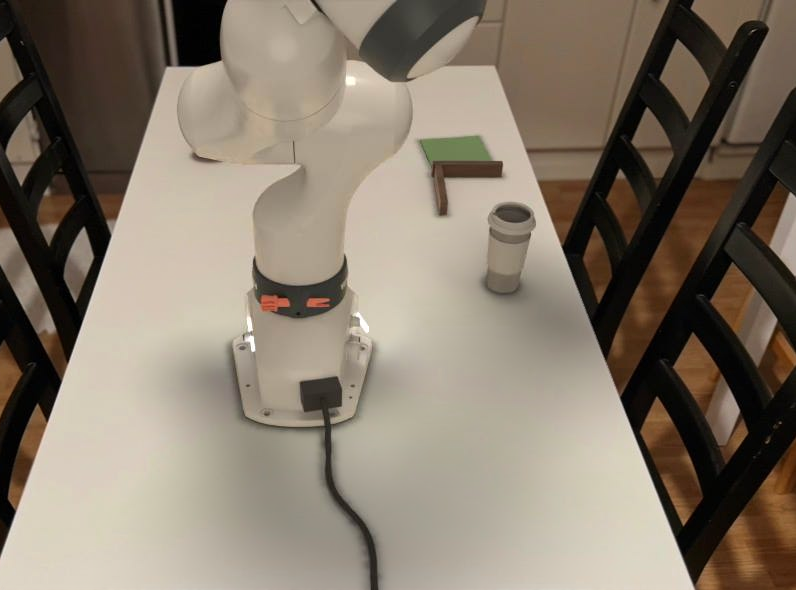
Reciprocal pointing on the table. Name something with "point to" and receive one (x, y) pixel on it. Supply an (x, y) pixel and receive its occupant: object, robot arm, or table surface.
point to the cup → (508, 244)
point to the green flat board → (455, 149)
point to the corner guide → (460, 175)
